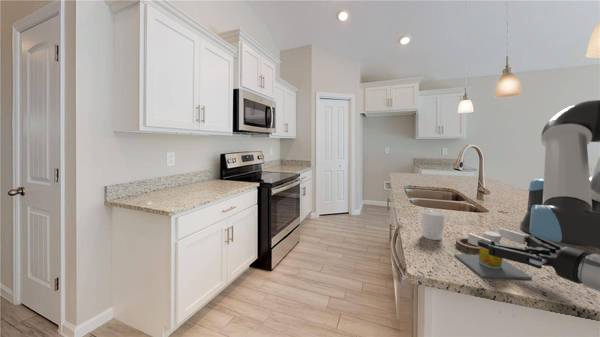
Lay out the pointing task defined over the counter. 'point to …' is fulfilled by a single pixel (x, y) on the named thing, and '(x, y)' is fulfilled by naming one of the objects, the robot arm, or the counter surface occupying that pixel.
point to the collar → (466, 246)
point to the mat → (485, 272)
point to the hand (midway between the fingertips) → (484, 234)
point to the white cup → (432, 224)
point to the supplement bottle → (483, 255)
